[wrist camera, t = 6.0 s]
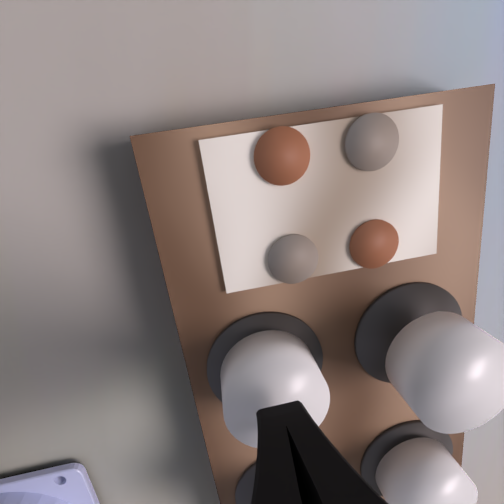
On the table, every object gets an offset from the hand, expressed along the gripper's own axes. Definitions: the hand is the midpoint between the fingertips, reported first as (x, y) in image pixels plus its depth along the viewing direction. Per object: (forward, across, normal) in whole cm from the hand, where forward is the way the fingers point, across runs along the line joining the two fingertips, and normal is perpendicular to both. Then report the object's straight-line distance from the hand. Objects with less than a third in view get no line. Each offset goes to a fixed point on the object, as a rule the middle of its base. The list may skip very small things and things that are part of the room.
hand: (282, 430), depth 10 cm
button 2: (+2, -6, 0) cm, 6 cm away
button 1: (+3, 0, 0) cm, 3 cm away
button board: (+5, -3, 0) cm, 6 cm away
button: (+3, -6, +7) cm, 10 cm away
